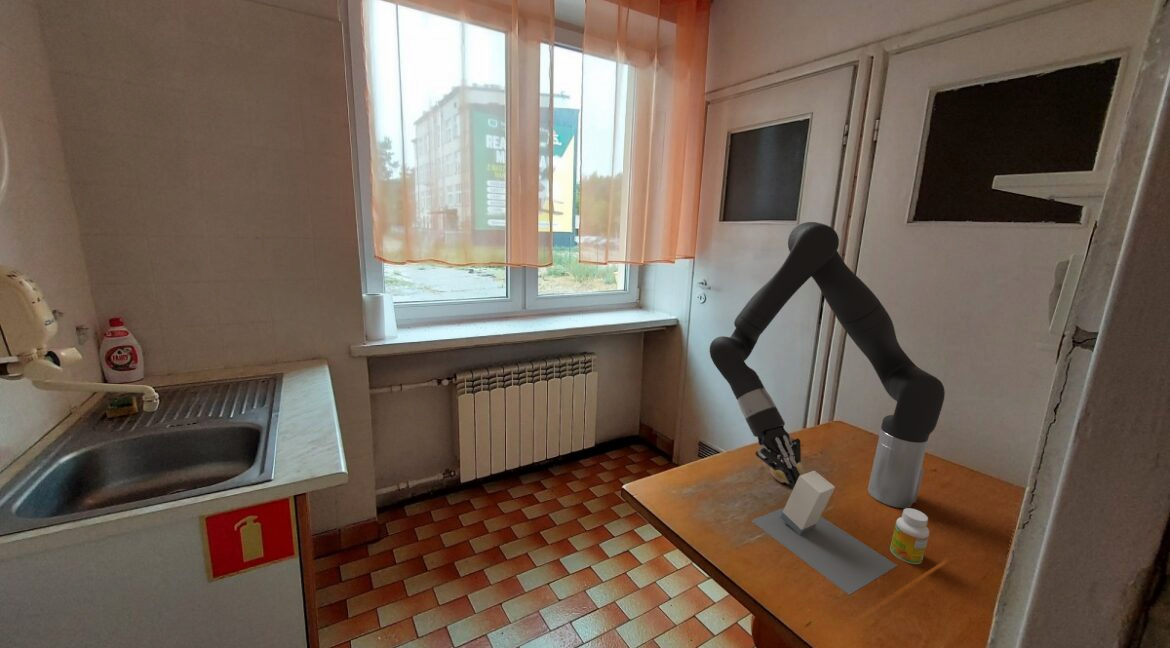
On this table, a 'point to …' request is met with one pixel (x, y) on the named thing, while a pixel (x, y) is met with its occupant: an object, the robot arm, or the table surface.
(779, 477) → the onion
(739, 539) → the table surface
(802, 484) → the tall block
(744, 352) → the robot arm
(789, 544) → the mat
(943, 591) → the table surface
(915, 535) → the supplement bottle
